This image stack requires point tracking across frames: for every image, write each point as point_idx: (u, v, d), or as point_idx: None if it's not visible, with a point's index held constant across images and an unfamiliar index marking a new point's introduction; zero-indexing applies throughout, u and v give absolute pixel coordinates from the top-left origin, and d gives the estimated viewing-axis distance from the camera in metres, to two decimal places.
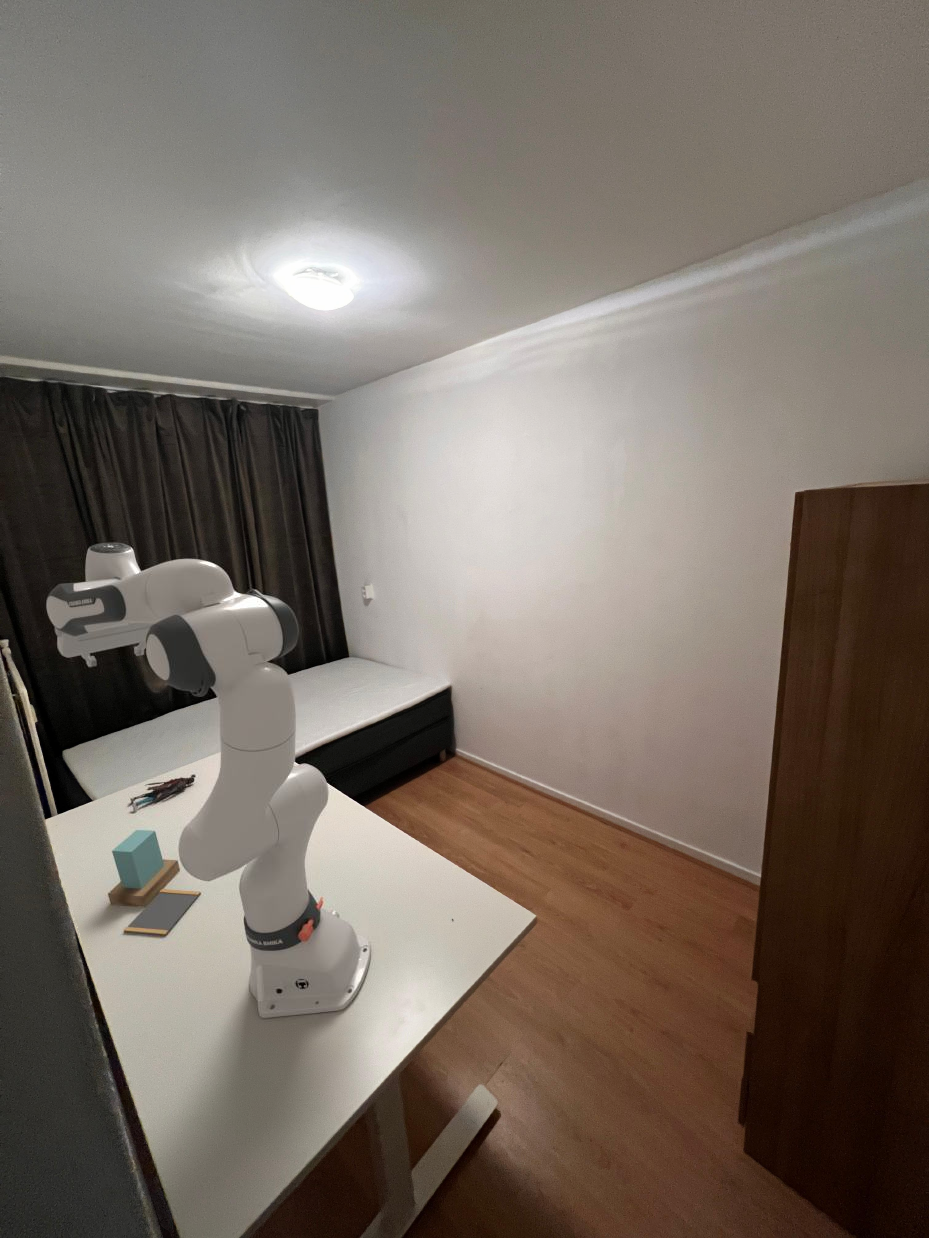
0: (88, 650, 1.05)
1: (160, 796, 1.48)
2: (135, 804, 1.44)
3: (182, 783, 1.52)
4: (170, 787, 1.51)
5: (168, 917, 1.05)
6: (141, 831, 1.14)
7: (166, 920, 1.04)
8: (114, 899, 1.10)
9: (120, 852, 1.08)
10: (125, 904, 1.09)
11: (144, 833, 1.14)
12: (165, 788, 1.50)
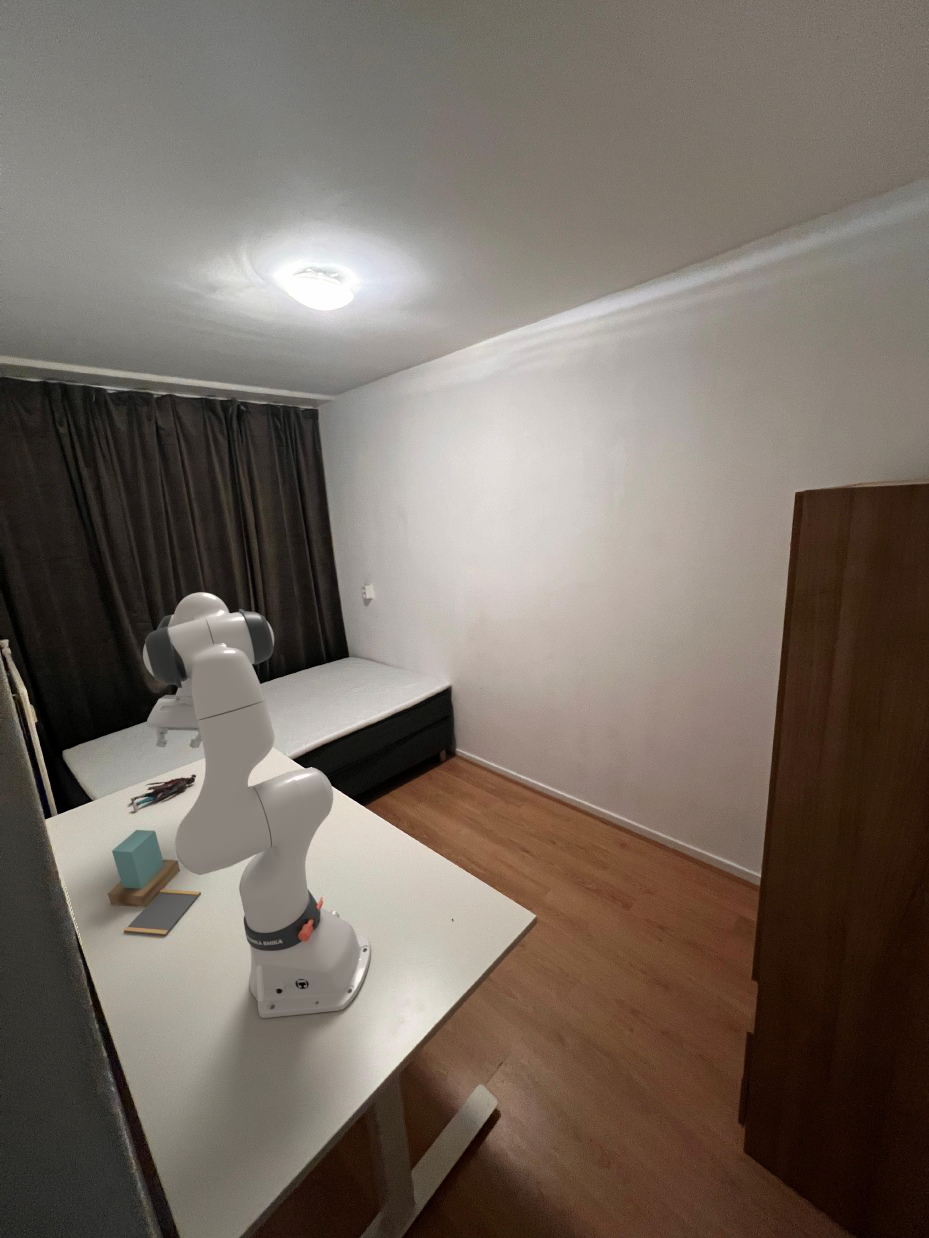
0: (160, 722, 1.24)
1: (160, 796, 1.48)
2: (135, 804, 1.44)
3: (182, 783, 1.52)
4: (170, 787, 1.51)
5: (168, 917, 1.05)
6: (141, 831, 1.14)
7: (166, 920, 1.04)
8: (114, 899, 1.10)
9: (120, 852, 1.08)
10: (125, 904, 1.09)
11: (144, 833, 1.14)
12: (165, 788, 1.50)
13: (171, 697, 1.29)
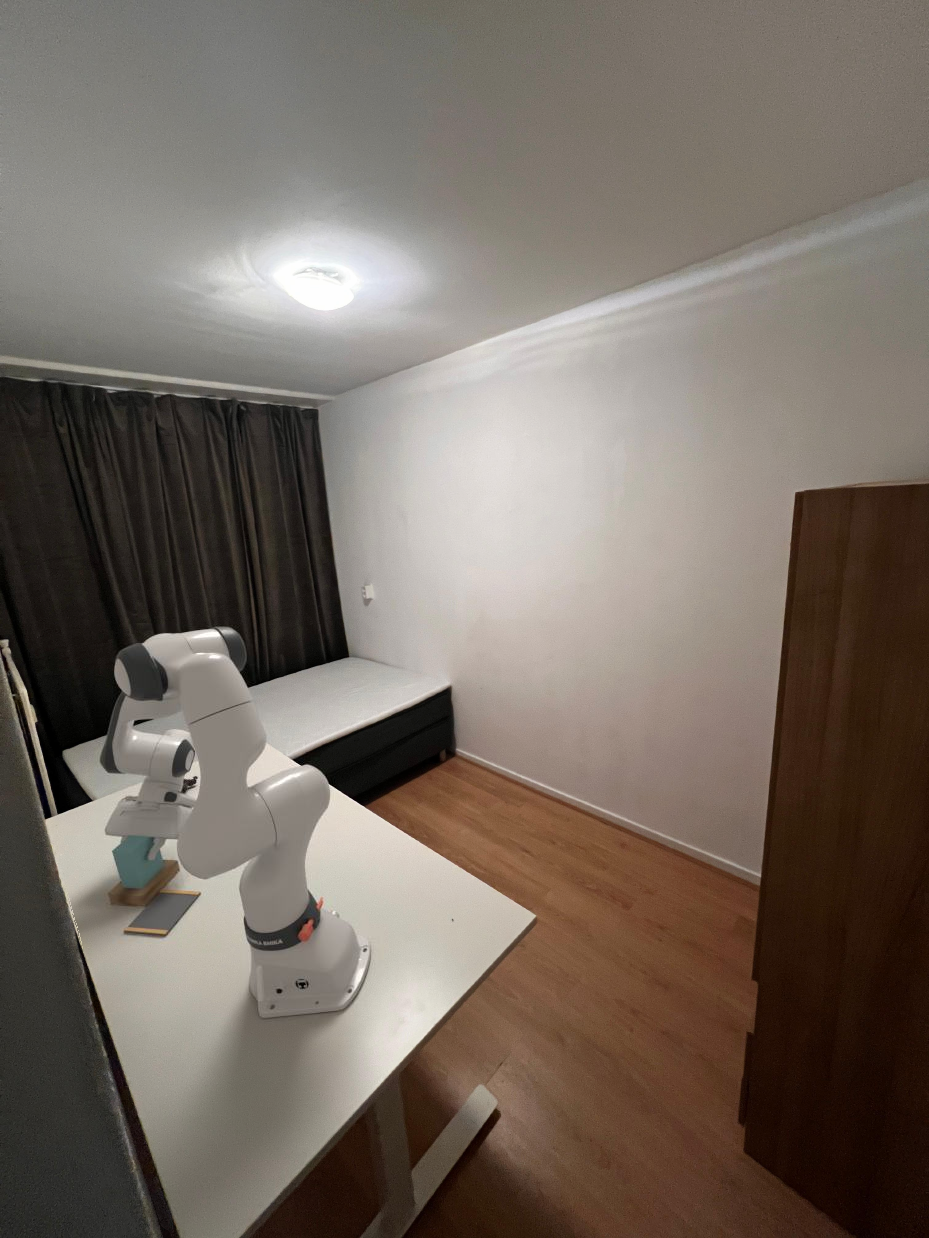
0: (119, 830, 1.14)
1: None
2: None
3: (184, 785, 1.51)
4: None
5: (168, 917, 1.05)
6: None
7: (166, 920, 1.04)
8: (114, 899, 1.10)
9: (120, 852, 1.08)
10: (125, 904, 1.09)
11: None
12: None
13: (133, 799, 1.19)
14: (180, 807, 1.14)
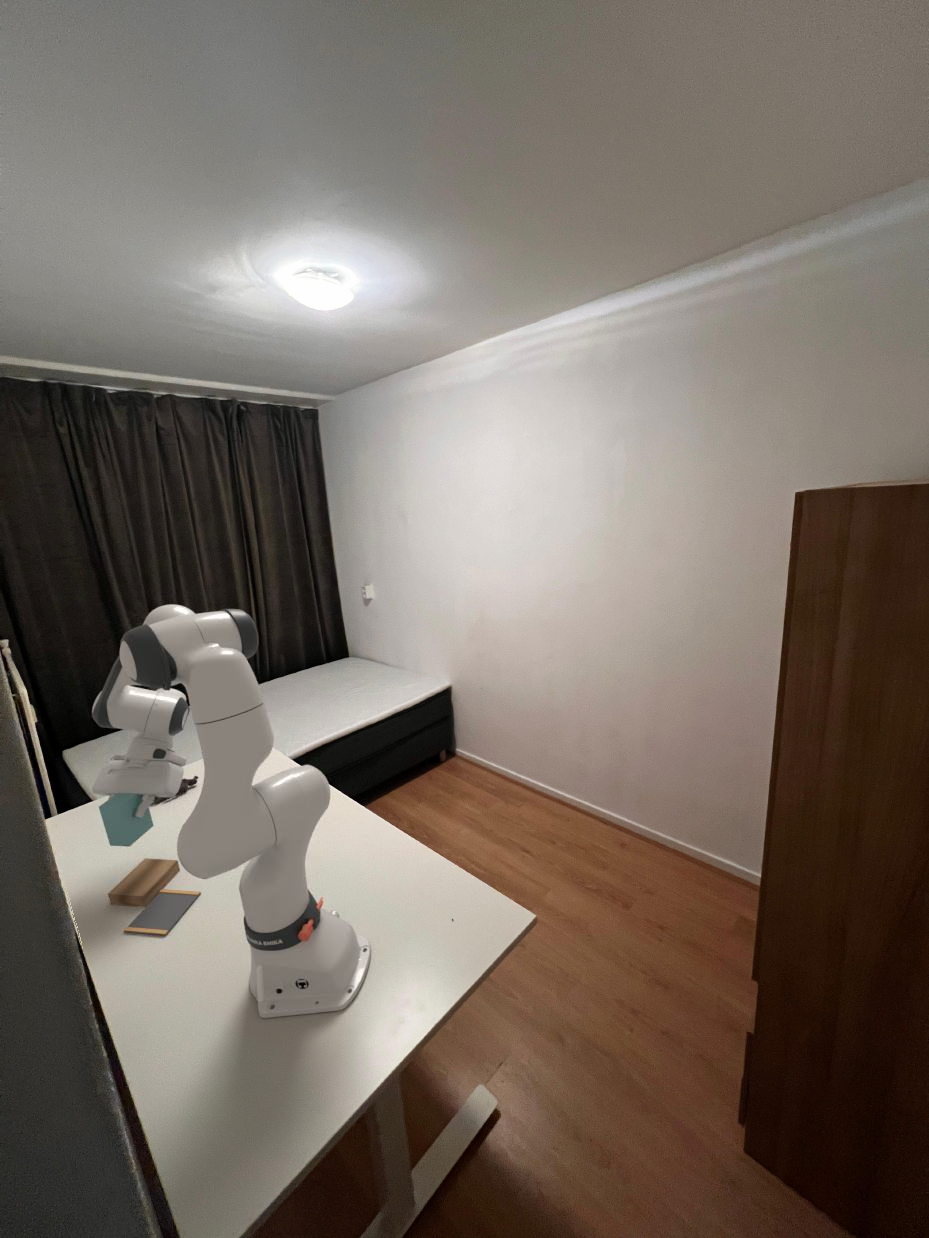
0: (107, 788, 1.11)
1: (162, 797, 1.48)
2: None
3: (184, 784, 1.51)
4: None
5: (168, 917, 1.05)
6: None
7: (166, 920, 1.04)
8: (114, 899, 1.10)
9: (107, 808, 1.05)
10: (125, 904, 1.09)
11: None
12: None
13: (121, 758, 1.16)
14: (169, 764, 1.11)
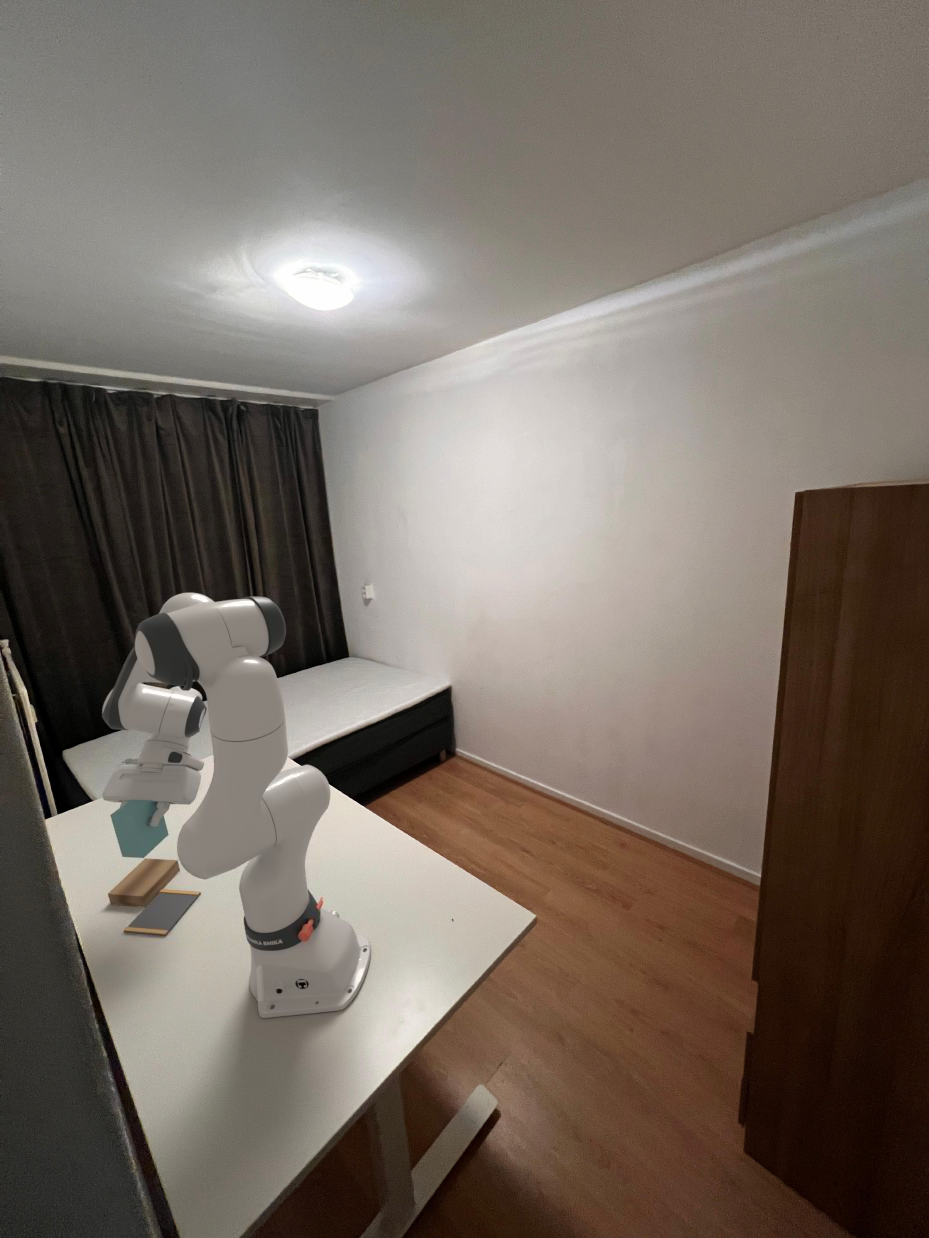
0: (119, 794, 1.03)
1: None
2: None
3: None
4: None
5: (168, 917, 1.05)
6: None
7: (166, 920, 1.04)
8: (114, 899, 1.10)
9: (119, 816, 0.97)
10: (125, 904, 1.09)
11: None
12: None
13: (133, 761, 1.08)
14: (186, 768, 1.03)
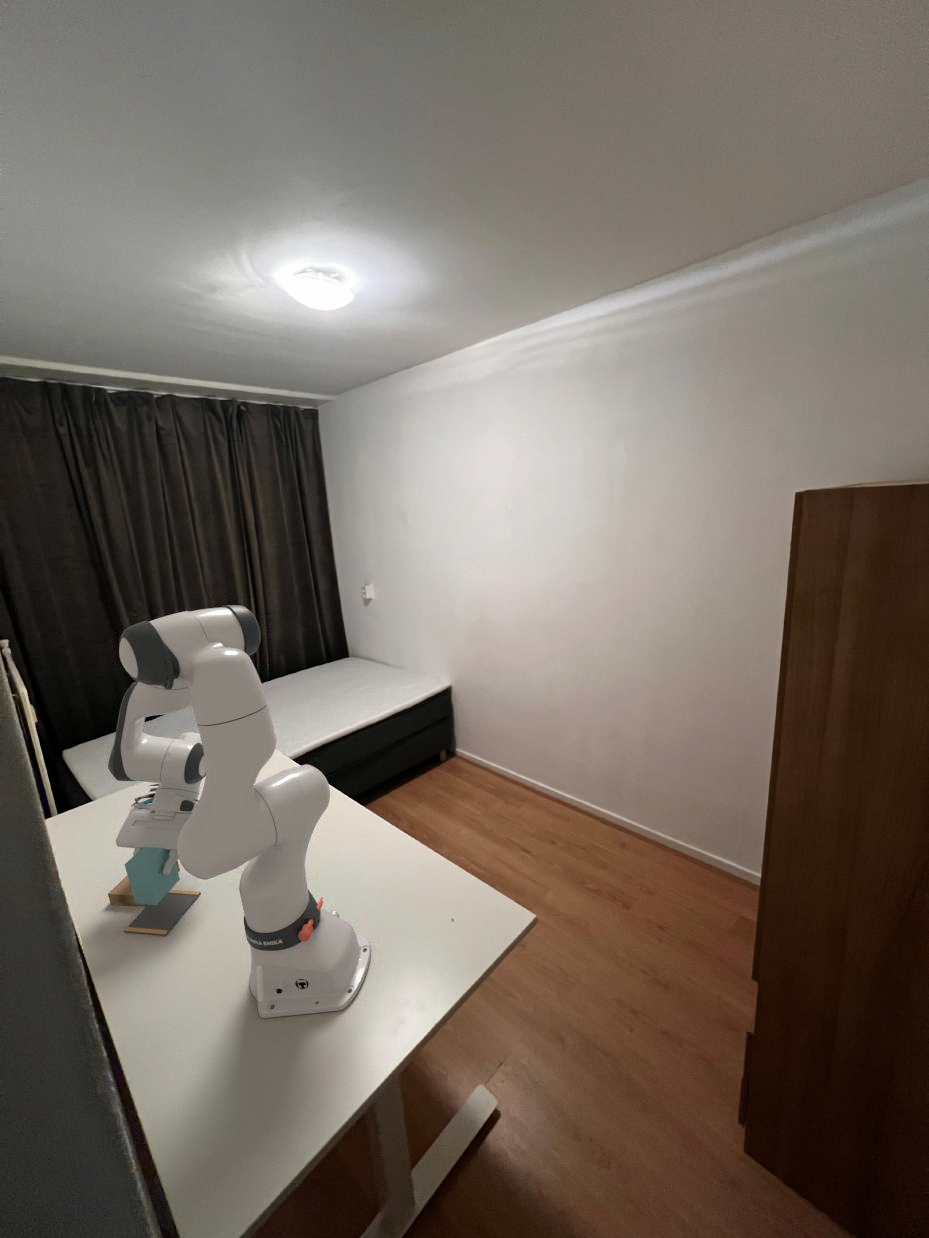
0: (132, 841, 1.06)
1: None
2: None
3: None
4: None
5: (168, 917, 1.05)
6: None
7: (166, 920, 1.04)
8: (114, 899, 1.10)
9: (133, 866, 1.00)
10: (125, 904, 1.09)
11: None
12: None
13: (145, 807, 1.11)
14: None
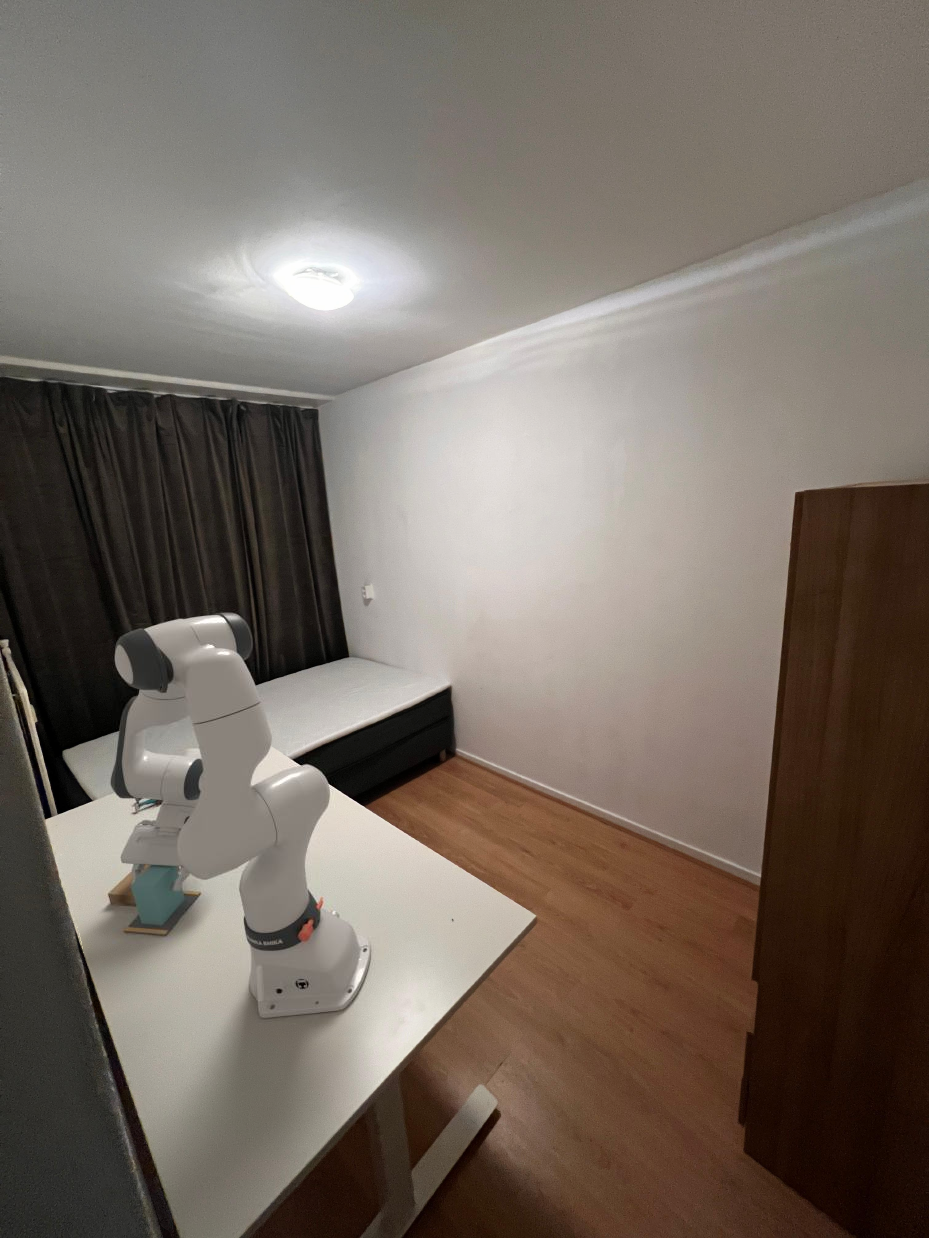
0: (136, 858, 1.07)
1: None
2: (137, 805, 1.44)
3: None
4: None
5: None
6: None
7: (166, 920, 1.04)
8: (114, 899, 1.10)
9: (139, 887, 1.01)
10: (125, 904, 1.09)
11: None
12: None
13: (150, 823, 1.12)
14: None
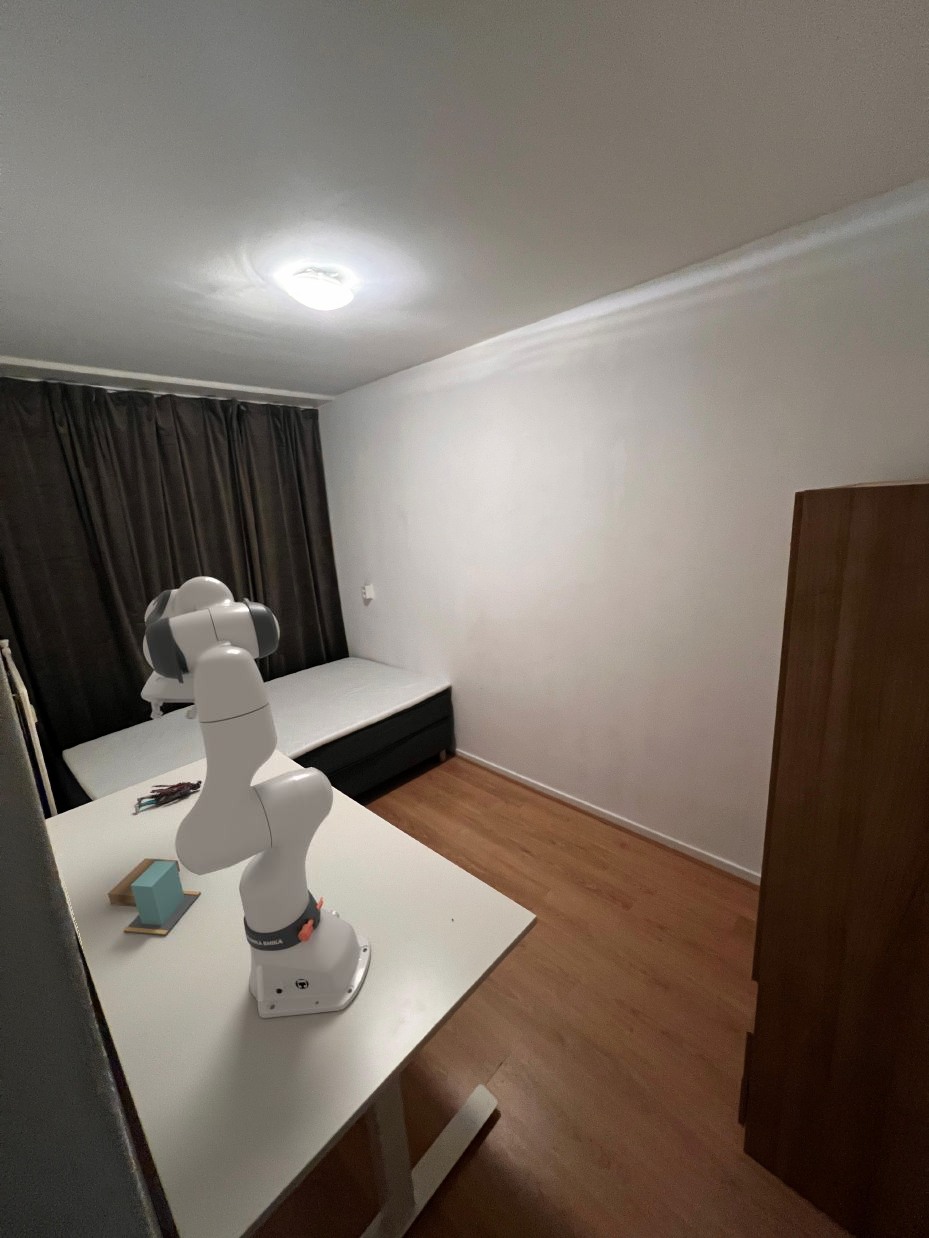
0: (155, 693, 1.19)
1: (163, 800, 1.46)
2: (138, 805, 1.43)
3: (186, 789, 1.49)
4: (175, 791, 1.49)
5: None
6: (161, 862, 1.07)
7: (166, 920, 1.04)
8: (114, 899, 1.10)
9: (139, 887, 1.01)
10: (125, 904, 1.09)
11: (164, 865, 1.07)
12: (170, 792, 1.48)
13: None
14: None
